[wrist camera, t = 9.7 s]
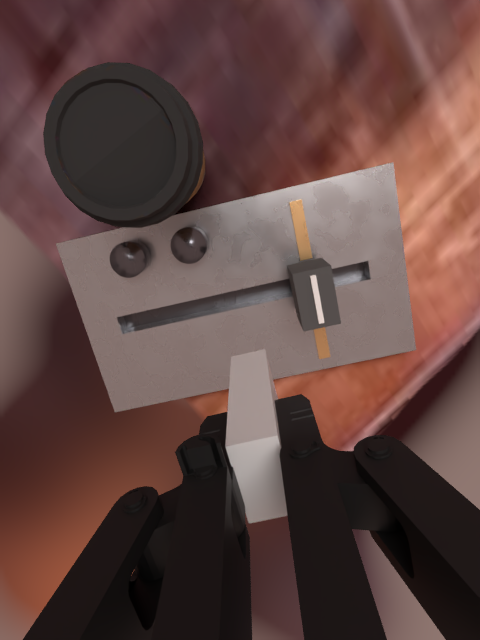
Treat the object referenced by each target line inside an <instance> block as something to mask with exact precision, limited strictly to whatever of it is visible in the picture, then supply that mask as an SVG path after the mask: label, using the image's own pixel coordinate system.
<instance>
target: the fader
mask: <svg viewBox="0 0 480 640" xmlns="http://www.w3.org/2000/svg"><path fill="white" fill-rule="evenodd" d="M287 269H288V274H289V279H290V284H291V289H292V294H293V299H294V304H295V309H296V314H297V318H298V320H299V322H300V325H301V327H302V329H303V331H309V330H314V329H318V328H323V327H328V326H332V325H337V324H341V320H340V314H339V308H338V302H337V296H336V290H335V285H334V279H333V273H332V267H331V265H330V264H329V263H327V262H326V261H325V260H324V259H322V258H317V259H313V260H308V261H304V262H300V263H295V264H291V265H287Z"/></svg>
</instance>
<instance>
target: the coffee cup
mask: <svg viewBox="0 0 480 640" xmlns="http://www.w3.org/2000/svg"><path fill="white" fill-rule="evenodd" d="M43 135H44V145H45V155H46V158H47V161H48V164H49V167H50V169H51V172H52V175H53V176H54V178H55V180H56V181H57V183H58V185H59V186H60V188H61V189H62V191H63V193H64V194H65V196H66V197H67V198H68V199H69V200H70V201H71V202H72V203H73V204H74V205H75V206H76V207H77V208H78V209H79V210H81V211H82V212H84V213H86V214H87V215H89V216H91V217H92V218H94V219H96V220H97V221H100V222H104V223H107V224H110V225H114V226H119V227H128V228H142V227H146V226H150V225H155V224H159V223H160V222H162V221H164V220H166V219H167V218H169V217H171V216H173V215H175V214H176V213H177V212H178V211H179V210H180V209H181V208H182V207H183V206H184V205H185V204H186V203H187V202H188V201H189V200H190V199H191V198H192V197H193V196H194V195H195V194H196V193H197V192H198V190H199V188H200V186H201V185H202V183H203V179H204V175H205V157H204V152H203V141H202V137H201V133H200V129H199V125H198V121H197V119H196V117H195V115H194V114H193V112H192V110H191V108H190V106H189V104H188V102H187V101H186V100H185V99H184V98H183V96H182V95H181V94H180V93H179V92H178V91H177V90H176V89H175V87H174V86H173V85H171V84H170V83H168V82H167V81H165V80H164V79H162V78H161V77H159V76H158V75H156V74H155V73H153V72H152V71H150V70H148V69H145V68H142V67H139V66H136V65H133V64H130V63H109V62H108V63H104V64H100V65H97V66H93V67H90V68H87V69H85V70H83V71H81V72H80V73H78V74H77V75H75V76H74V77H72V78H71V79H69V80H68V81H67V82H66V83H65V84H64V85H63V86H62V87H61V89H60V90H59V91H58V92H57V93H56V95H55V96H54V98H53V100H52V103H51V105H50V107H49V109H48V112H47V114H46V121H45V127H44V134H43Z"/></svg>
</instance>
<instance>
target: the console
mask: <svg viewBox="0 0 480 640" xmlns="http://www.w3.org/2000/svg"><path fill="white" fill-rule="evenodd" d="M56 246H57V248H58V251H59V254H60V257H61V260H62V263H63V266H64V268H65V271H66V274H67V277H68V280H69V283H70V286H71V288H72V291H73V294H74V297H75V300H76V303H77V306H78V308H79V311H80V314H81V317H82V320H83V323H84V325H85V328H86V331H87V334H88V337H89V340H90V343H91V345H92V348H93V351H94V354H95V357H96V360H97V363H98V366H99V368H100V371H101V374H102V377H103V380H104V382H105V385H106V388H107V391H108V394H109V397H110V400H111V403H112V406H113V408H114V411H115V412H119V411H124V410H129V409H133V408H138V407H143V406H148V405H153V404H158V403H163V402H167V401H172V400H177V399H182V398H187V397H191V396H196V395H201V394H206V393H211V392H216V391H220V390H225V389H229V382H230V366H231V357H232V356H237V355H241V354H245V353H249V352H254V351H258V350H262V349H265V350H266V354H267V358H268V362H269V366H270V370H271V374H272V378H273V379H278V378H283V377H288V376H293V375H298V374H302V373H307V372H312V371H317V370H322V369H327V368H331V367H336V366H341V365H346V364H351V363H356V362H360V361H365V360H370V359H375V358H380V357H384V356H389V355H394V354H399V353H404V352H409V351H413V350H416V346H415V338H414V329H413V321H412V313H411V305H410V296H409V288H408V280H407V272H406V263H405V255H404V247H403V239H402V230H401V222H400V214H399V206H398V197H397V189H396V181H395V173H394V165H393V163H389V164H385V165H380V166H376V167H372V168H368V169H364V170H360V171H355V172H351V173H347V174H343V175H339V176H335V177H331V178H326V179H322V180H318V181H314V182H310V183H306V184H301V185H297V186H293V187H289V188H285V189H281V190H277V191H272V192H268V193H264V194H260V195H256V196H252V197H247V198H243V199H239V200H235V201H231V202H227V203H223V204H218V205H214V206H210V207H206V208H202V209H198V210H193V211H189V212H185V213H181V214H177V215H173V216H171V217H169V218H167V219H166V220H164V221H162V222H160V223H159V224H155V225H150V226H146V227H142V228H128V227H123V228H119V229H115V230H110V231H106V232H102V233H98V234H94V235H90V236H85V237H81V238H77V239H73V240H69V241H65V242H61V243H57V244H56ZM317 258H322V259H324V260H325V261H326V262H327V263H329V264H330V265H331V267H332V273H333V279H334V285H335V290H336V296H337V302H338V308H339V314H340V320H341V324H337V325H332V326H328V327H323V328H318V329H314V330H309V331H303V329H302V327H301V325H300V322H299V320H298V318H297V314H296V309H295V304H294V299H293V294H292V289H291V284H290V279H289V274H288V269H287V265H291V264H295V263H300V262H304V261H308V260H313V259H317Z"/></svg>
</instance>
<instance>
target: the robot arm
mask: <svg viewBox="0 0 480 640" xmlns="http://www.w3.org/2000/svg"><path fill="white" fill-rule="evenodd" d="M175 453H176V456H177V459H178V461H179V465H180V467H181V470H182V473H183V481H182V484H181V485H180V486H178V487H176V488H174V489H172V490H170V491H168V492H166V493H164V494H161V495H158V492H157V490H155V489H154V488H153V487H147V486H146V487H139V488H136V489H133V490H131V491H129V492H127V493H126V494H124V495H123V496H122V497H120V499H119V500H118V501H117V502H116V503H115V504H114V506H113V507H112V508H111V510H110V511H109V513H108V515H107V516H106V518H105V519H104V520H103V522H102V523H101V525H100V526H99V528H98V529H97V531H96V532H95V534H94V535H93V537H92V538H91V540H90V541H89V543H88V544H87V545H86V547H85V548H84V550H83V551H82V553H81V554H80V556H79V557H78V559H77V560H76V562H75V563H74V565H73V566H72V568H71V569H70V571H69V572H68V574H67V575H66V576H65V578H64V580H63V581H62V582H61V584H60V585H59V587H58V588H57V590H56V591H55V593H54V594H53V596H52V597H51V599H50V600H49V602H48V603H47V605H46V606H45V607H44V609H43V610H42V612H41V613H40V615H39V617H38V618H37V619H36V621H35V622H34V624H33V625H32V627H31V628H30V630H29V631H28V633H27V634H26V636H25V637H24V639H23V640H252V617H251V581H250V580H251V576H250V537H249V534H248V530H247V527H246V524H245V512H246V516H247V519H248V522H249V523H254V522H259V521H264V520H269V519H274V518H278V517H283V516H288V522H289V529H290V537H291V543H292V551H293V559H294V566H295V573H296V581H297V588H298V595H299V603H300V610H301V618H302V625H303V632H304V640H387V639H386V636H385V632H384V629H383V626H382V623H381V620H380V616H379V613H378V610H377V607H376V604H375V601H374V598H373V595H372V592H371V588H370V585H369V582H368V579H367V576H366V573H365V570H364V566H363V563H362V560H361V557H360V554H359V550H358V548H357V544H356V541H355V538H354V535H353V532H352V529H361V530H369V531H370V533H371V536H372V537H373V539H374V540H375V542H376V543H377V545H378V546H379V547H380V549H381V550H382V551H383V553H384V554H385V556H386V557H387V558H388V559H389V561H390V562H391V564H392V565H393V567H394V568H395V570H396V571H397V572H398V574H399V575H400V576H401V578H402V579H403V581H404V582H405V584H406V585H407V586H408V588H409V589H410V590H411V592H412V593H413V594H414V596H415V597H416V599H417V600H418V602H419V603H420V604H421V606H422V607H423V609H424V610H425V611H426V613H427V614H428V615H429V617H430V618H431V619H432V621H433V622H434V624H435V625H436V626H437V628H438V629H439V631H440V632H441V634H442V635H443V636H444V638H445V639H446V640H480V510H479V509H478V508H477V507H476V506H475V505H473V504H472V503H471V502H470V501H469V500H468V499H466V498H465V497H464V496H463V495H462V494H461V493H460V492H458V491H457V490H456V489H455V488H454V487H453V486H452V485H450V484H449V483H448V482H447V481H446V480H445V479H444V478H442V477H441V476H440V475H439V474H438V473H437V472H435V471H434V470H433V469H432V468H431V467H430V466H429V465H427V464H426V463H425V462H424V461H423V460H422V459H420V458H419V457H418V456H417V455H416V454H415V453H414V452H412V451H411V450H410V449H409V448H408V447H407V446H405V445H404V444H403V443H402V442H401V441H399V440H397V439H396V438H394V437H390V436H386V435H375V436H371V437H366V438H364V439H363V440H361V441H359V442H358V443H357V444H356V446H355V447H354V451H338V450H334V449H332V448H330V447H328V446H326V445H325V444H324V443H323V441H322V439H321V436H320V433H319V429H318V426H317V423H316V420H315V417H314V414H313V411H312V407H311V404H310V401H309V400H308V399H307V398H306V397H304V396H303V395H302V394H300V395H296V396H291V397H287V398H283V399H278V397H277V394H276V390H275V386H274V382H273V378H272V374H271V370H270V366H269V362H268V358H267V354H266V350H265V349H262V350H258V351H254V352H249V353H245V354H241V355H237V356H232V357H231V366H230V382H229V397H228V412H225V413H221V414H216V415H212V416H207V418H206V419H205V420H204V422H203V423H202V424H201V426H200V433H199V435H197V436H193V437H191V438H189V439H187V440H186V441H184V442H183V443H182V444H181V445H180V446H179V447H178V449H177V450H176V452H175ZM134 569H135V570H134ZM133 571H134V572H133ZM132 572H133V574H132ZM131 575H132V576H131Z"/></svg>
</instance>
